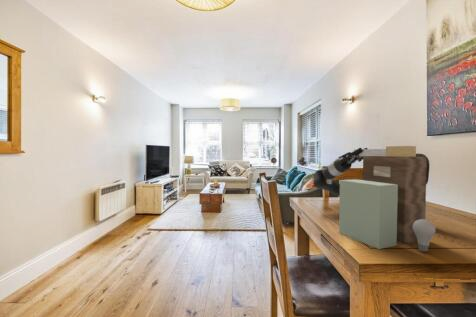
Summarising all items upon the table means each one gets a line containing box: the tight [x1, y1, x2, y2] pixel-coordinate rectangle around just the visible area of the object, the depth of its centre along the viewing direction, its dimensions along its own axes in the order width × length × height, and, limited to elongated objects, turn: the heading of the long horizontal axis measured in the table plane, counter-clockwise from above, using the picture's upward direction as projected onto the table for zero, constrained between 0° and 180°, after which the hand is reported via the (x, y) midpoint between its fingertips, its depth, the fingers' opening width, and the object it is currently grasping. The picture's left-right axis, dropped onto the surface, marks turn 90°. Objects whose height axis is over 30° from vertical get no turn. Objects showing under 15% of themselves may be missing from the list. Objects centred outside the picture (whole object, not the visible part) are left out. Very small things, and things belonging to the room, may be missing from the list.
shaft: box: [353, 145, 417, 157], centre depth 102 cm, size 6×25×4 cm, turn 22°
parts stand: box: [362, 156, 428, 245], centre depth 97 cm, size 12×18×32 cm
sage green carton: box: [338, 178, 398, 250], centre depth 92 cm, size 9×18×22 cm, turn 22°
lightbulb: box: [412, 219, 436, 253], centre depth 80 cm, size 6×6×11 cm
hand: (364, 149), depth 109 cm, fingers closed on shaft, 3 cm apart
